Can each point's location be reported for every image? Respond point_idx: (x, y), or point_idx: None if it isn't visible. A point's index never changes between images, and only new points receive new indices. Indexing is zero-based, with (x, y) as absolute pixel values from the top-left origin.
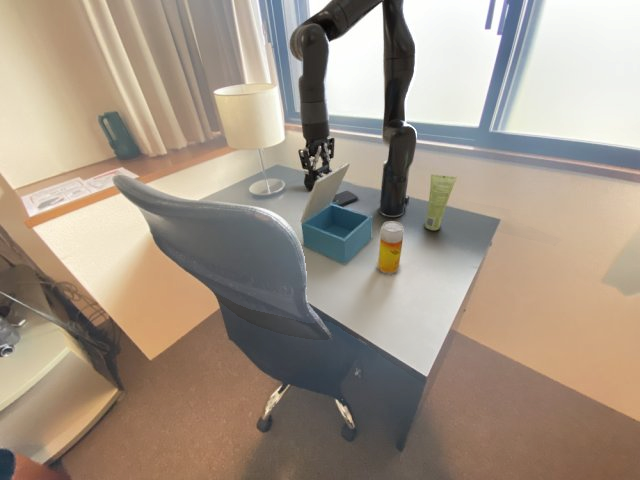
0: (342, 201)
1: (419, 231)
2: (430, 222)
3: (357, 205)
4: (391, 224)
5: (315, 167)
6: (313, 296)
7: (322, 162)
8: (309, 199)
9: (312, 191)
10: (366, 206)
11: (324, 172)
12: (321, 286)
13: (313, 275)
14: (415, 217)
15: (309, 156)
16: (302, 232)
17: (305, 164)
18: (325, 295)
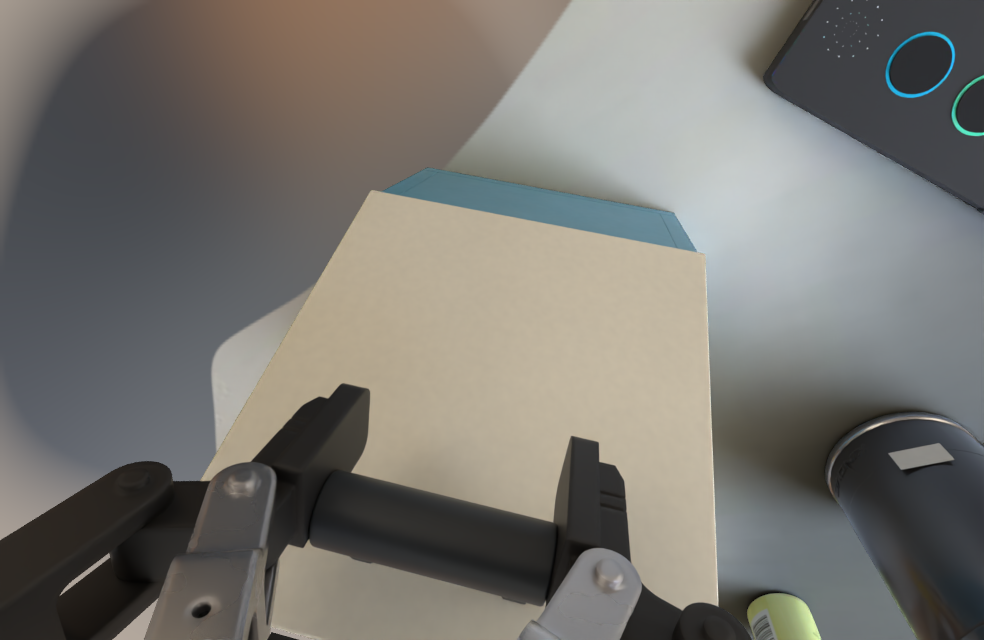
0: (981, 176)
1: (729, 575)
2: (759, 637)
3: (963, 274)
4: None
5: (272, 576)
6: (226, 345)
7: (561, 547)
8: (265, 377)
9: (214, 463)
10: (953, 331)
11: (565, 463)
12: (273, 351)
13: (296, 303)
14: (852, 559)
15: (213, 619)
16: (398, 183)
17: (124, 533)
18: (252, 376)
